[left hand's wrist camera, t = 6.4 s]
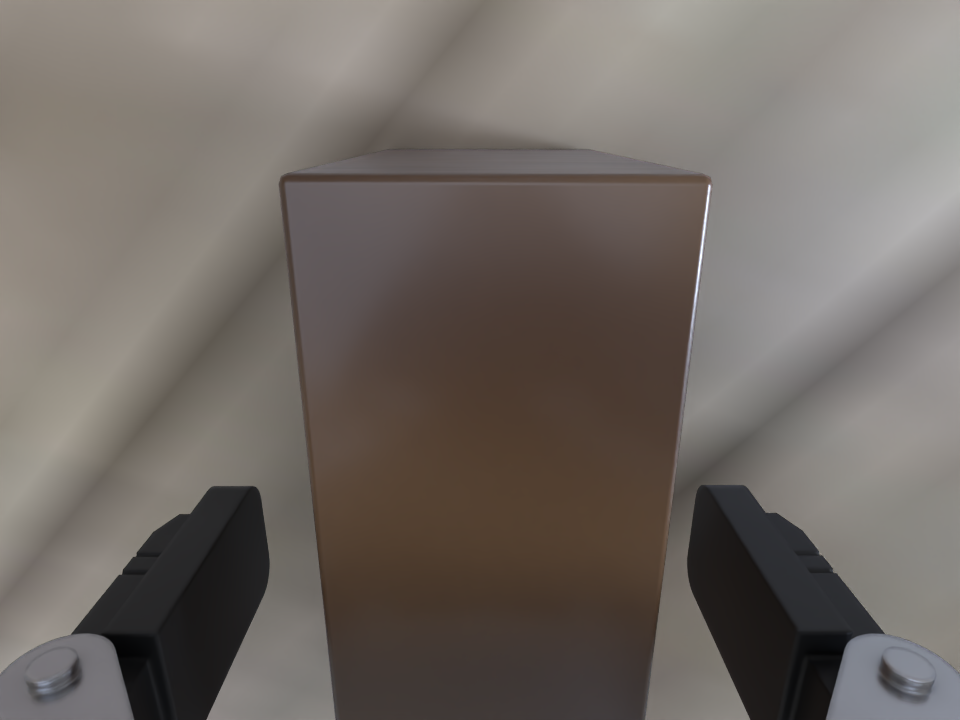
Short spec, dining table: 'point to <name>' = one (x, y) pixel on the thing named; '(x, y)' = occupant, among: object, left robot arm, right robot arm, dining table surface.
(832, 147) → the dining table surface
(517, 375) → the beam
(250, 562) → the left robot arm
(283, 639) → the dining table surface
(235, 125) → the dining table surface
